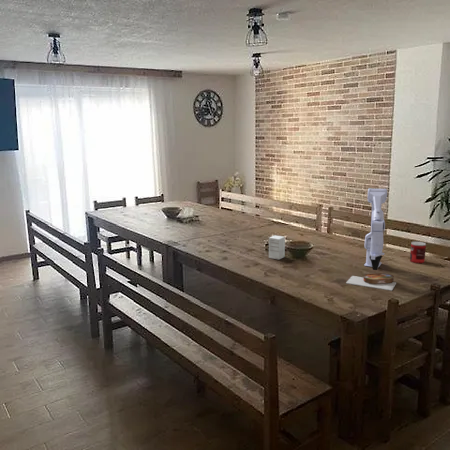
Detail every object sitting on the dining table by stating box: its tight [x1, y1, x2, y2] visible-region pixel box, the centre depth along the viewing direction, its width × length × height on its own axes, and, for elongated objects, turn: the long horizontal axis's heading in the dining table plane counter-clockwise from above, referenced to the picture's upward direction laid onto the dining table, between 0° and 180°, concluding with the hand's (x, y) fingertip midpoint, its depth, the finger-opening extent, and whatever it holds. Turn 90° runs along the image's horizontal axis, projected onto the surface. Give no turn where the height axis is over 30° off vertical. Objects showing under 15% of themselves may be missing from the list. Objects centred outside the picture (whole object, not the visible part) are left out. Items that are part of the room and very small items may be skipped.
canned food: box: [409, 241, 427, 264], centre depth 259 cm, size 8×8×11 cm
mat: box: [345, 275, 397, 292], centre depth 225 cm, size 12×22×1 cm, turn 60°
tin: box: [363, 272, 395, 284], centre depth 227 cm, size 15×3×8 cm
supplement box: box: [268, 235, 286, 260], centre depth 270 cm, size 7×7×13 cm
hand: (375, 269), depth 231 cm, fingers closed
